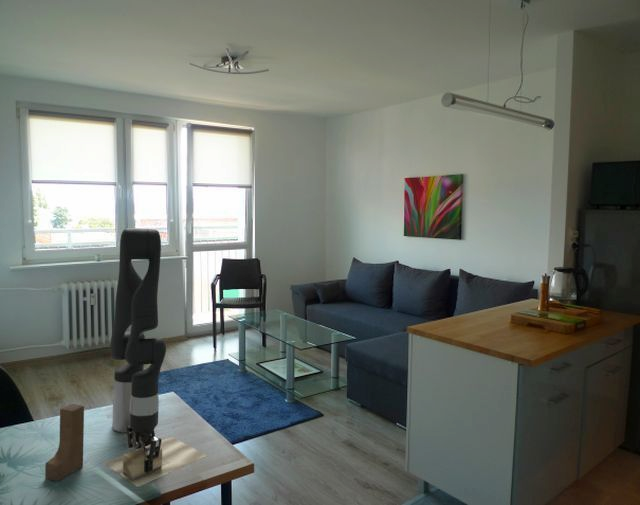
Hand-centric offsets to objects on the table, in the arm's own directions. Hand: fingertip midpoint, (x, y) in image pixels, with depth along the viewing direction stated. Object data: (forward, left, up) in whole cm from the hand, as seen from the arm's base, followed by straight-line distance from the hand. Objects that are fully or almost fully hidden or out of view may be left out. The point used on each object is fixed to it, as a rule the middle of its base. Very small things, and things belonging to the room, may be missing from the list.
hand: (142, 467), depth 132 cm
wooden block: (-17, -14, -2) cm, 22 cm away
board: (-3, +6, -2) cm, 7 cm away
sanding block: (0, 0, -1) cm, 1 cm away
